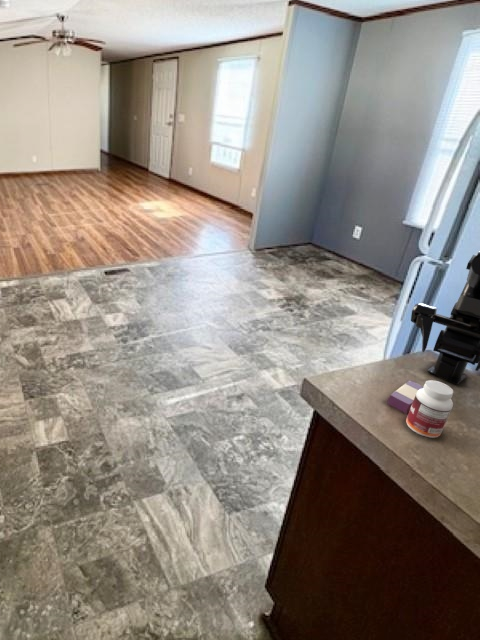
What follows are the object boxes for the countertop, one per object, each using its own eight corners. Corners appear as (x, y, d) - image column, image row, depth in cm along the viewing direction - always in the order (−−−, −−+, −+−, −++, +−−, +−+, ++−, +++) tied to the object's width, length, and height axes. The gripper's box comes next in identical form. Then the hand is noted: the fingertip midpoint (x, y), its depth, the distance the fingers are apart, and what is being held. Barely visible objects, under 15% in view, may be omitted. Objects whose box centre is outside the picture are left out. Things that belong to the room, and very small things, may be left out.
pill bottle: (410, 413, 95) (426, 373, 91) (443, 429, 91) (462, 388, 86) (400, 426, 91) (416, 385, 87) (435, 443, 87) (453, 401, 83)
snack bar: (406, 388, 103) (409, 380, 102) (425, 397, 100) (428, 389, 99) (386, 403, 98) (390, 394, 97) (406, 413, 95) (409, 404, 94)
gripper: (428, 269, 94) (399, 327, 91) (545, 298, 81) (516, 366, 78) (424, 293, 102) (397, 347, 98) (529, 323, 89) (503, 386, 86)
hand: (448, 360), depth 90 cm, fingers open, 9 cm apart
